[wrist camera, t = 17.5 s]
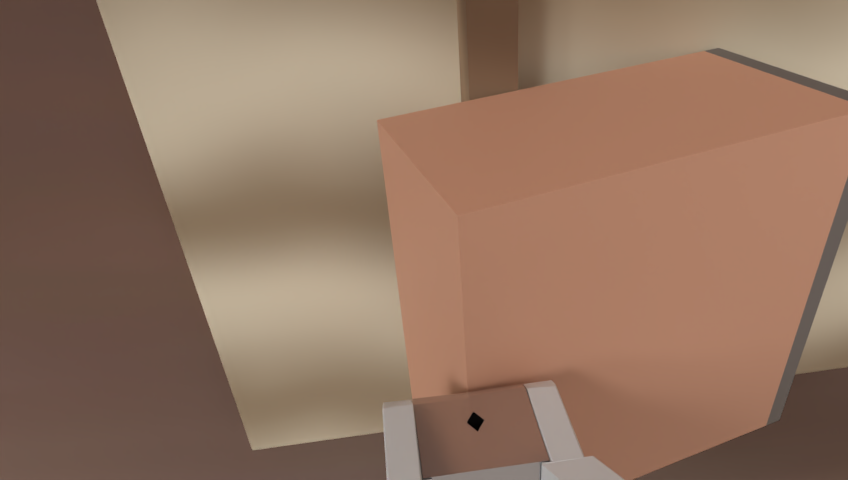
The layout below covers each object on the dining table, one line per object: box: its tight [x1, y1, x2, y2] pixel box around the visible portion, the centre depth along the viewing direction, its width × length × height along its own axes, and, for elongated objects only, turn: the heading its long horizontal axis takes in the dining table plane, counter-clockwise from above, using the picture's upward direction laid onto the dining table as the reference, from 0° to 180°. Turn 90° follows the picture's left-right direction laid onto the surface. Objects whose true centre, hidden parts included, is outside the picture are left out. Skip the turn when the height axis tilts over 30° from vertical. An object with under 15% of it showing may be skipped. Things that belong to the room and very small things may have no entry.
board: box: [96, 0, 848, 450], centre depth 16 cm, size 14×20×2 cm
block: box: [377, 48, 848, 480], centre depth 13 cm, size 8×4×8 cm
